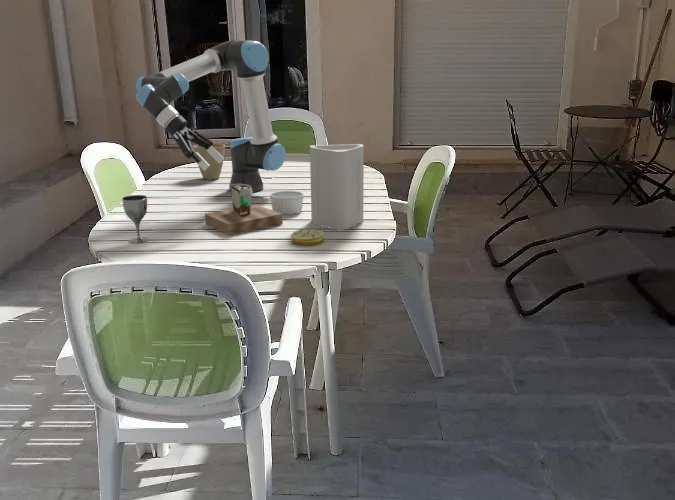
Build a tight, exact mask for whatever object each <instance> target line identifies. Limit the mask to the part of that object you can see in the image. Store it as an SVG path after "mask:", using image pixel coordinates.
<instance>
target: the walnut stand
mask: <svg viewBox="0 0 675 500" xmlns="http://www.w3.org/2000/svg"><path fill="white" fill-rule="evenodd" d="M204 218H205V219H204V222H205V223H204V224H205V225H206V226H209V227H210V228H212V229H215V230H216V231H219V232H221V233H224V234H225V235H228V236H232V235H238V234H242V233H247V232H253V231H258V230H262V229H267V227H268V228H271V227H272V226H273V227H277V226H276V225H278V226H282V225H283V223H284V222H283V214H281V213H278V212H276V211H273V209H270V208H267V207H264V206H262V205H259V204H253V205H251V210H250V215H247V216H244V217H240V216H239V215H237V214H236V213H235V212H234V211H233V208H230V209H225V210H218V211H214V212H208V213H204ZM281 224H282V225H281ZM273 227H272V228H273Z"/></svg>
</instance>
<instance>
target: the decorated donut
mask: <svg viewBox="0 0 675 500" xmlns="http://www.w3.org/2000/svg"><path fill="white" fill-rule="evenodd" d="M290 239H291V242H292V243H293V244H295V245H299V246H315V245H318V244H320V243H321V242H323V239H324V232H323V231H322V230H320V229H315V228H303V229H297V230H295V231H293V232H292V233H291V234H290Z"/></svg>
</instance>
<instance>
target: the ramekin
mask: <svg viewBox="0 0 675 500" xmlns="http://www.w3.org/2000/svg"><path fill="white" fill-rule="evenodd" d="M304 197H305V195H304V193H303V192H301V191H298V190H297V191H296V190H281V191H275V192H272V193H270V194H269V199H270V203H271V204H270V205H271V210H273V211H276V212H278V213H281V214H282V215H283V214H289V215H296V214H299V213H301V211H302V210H303V204H304ZM298 212H299V213H298ZM295 213H296V214H295Z"/></svg>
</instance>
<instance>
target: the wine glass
mask: <svg viewBox="0 0 675 500" xmlns="http://www.w3.org/2000/svg"><path fill="white" fill-rule="evenodd" d="M121 201H122V208H123V211H124V214H125V215H126V216H127V218H129V220H131V221H132V222H133V224H134V225H135V229H136V235H137V236H136V237H133V238H130V239H128V241H127V242H128V244H133V245H139V244H145V243H148V242H150V239H151V238H149V237H141V234H140V224H141V222H142V220H143V219H144V217H145V216H146V214H147V212H148V211H147V210H148V197H147V196H146V195H144V194H143V195H142V194H131V195H126V196H124V197H122V199H121Z"/></svg>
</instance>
